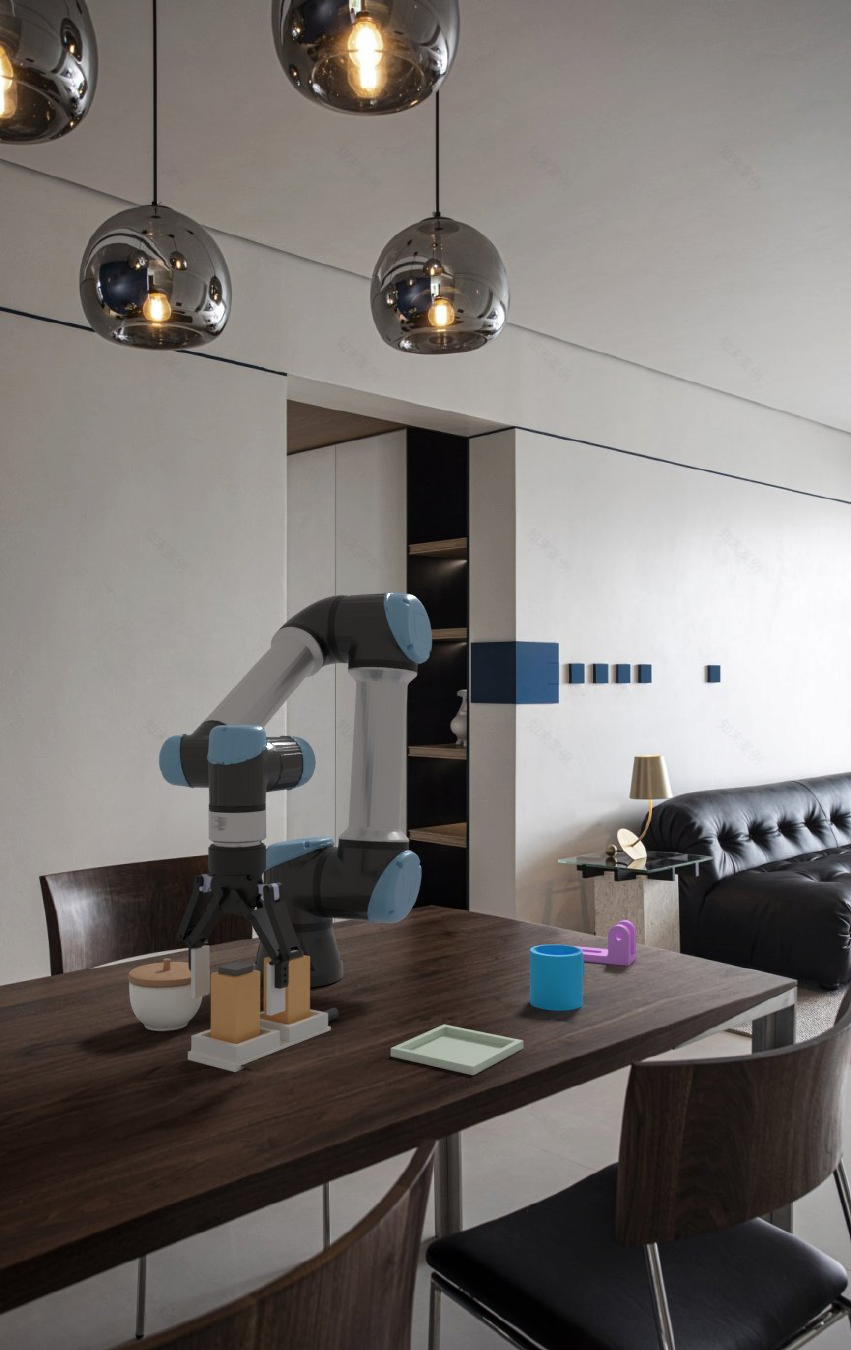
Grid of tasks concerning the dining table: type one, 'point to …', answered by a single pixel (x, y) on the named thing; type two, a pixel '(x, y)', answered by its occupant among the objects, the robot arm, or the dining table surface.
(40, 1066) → the dining table surface
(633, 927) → the bracket
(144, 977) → the lidded jar
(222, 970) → the orange capped pillar
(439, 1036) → the tray
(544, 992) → the mug
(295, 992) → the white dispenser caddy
